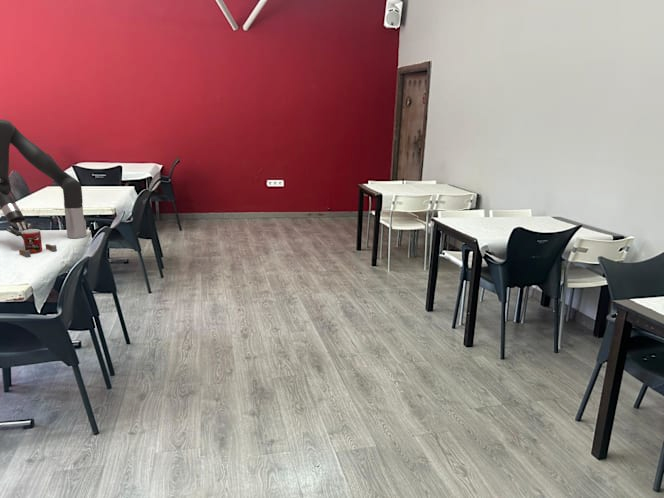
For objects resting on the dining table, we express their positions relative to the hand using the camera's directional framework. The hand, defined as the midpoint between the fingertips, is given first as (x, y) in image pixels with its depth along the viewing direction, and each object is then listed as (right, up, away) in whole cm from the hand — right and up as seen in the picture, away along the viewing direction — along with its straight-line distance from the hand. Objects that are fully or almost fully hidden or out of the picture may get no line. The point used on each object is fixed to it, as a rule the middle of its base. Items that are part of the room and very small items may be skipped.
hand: (27, 241), depth 257 cm
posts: (+9, -7, -4) cm, 12 cm away
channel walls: (+6, -6, -2) cm, 9 cm away
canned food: (+4, -6, -1) cm, 7 cm away
